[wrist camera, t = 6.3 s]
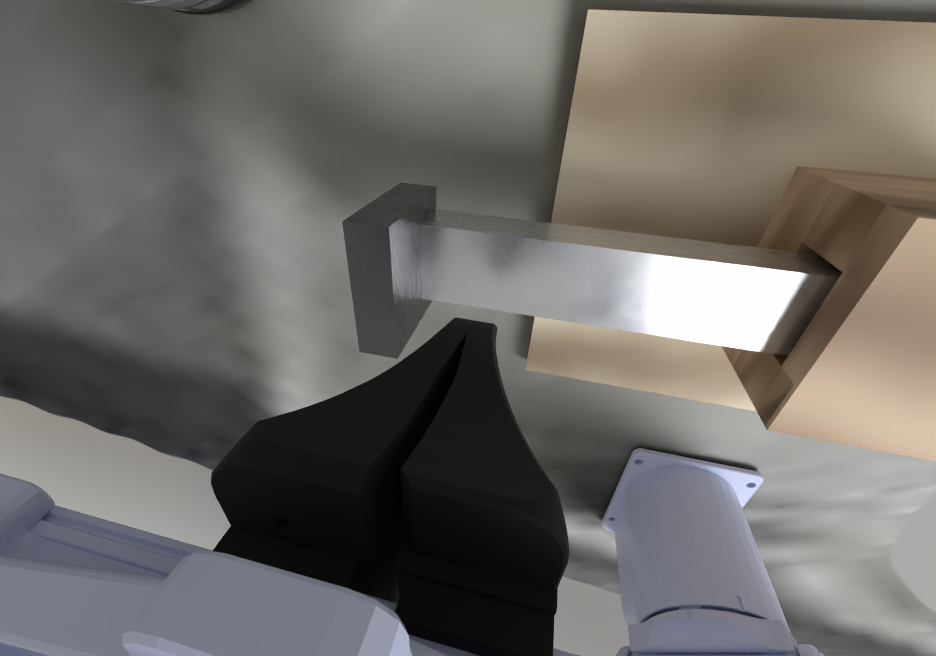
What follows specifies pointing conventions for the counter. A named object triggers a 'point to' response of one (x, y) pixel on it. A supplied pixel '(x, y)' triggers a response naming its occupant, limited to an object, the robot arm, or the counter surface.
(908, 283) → the stand
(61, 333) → the counter surface
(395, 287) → the shaft
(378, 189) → the counter surface
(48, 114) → the counter surface
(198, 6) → the supplement container
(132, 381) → the counter surface
